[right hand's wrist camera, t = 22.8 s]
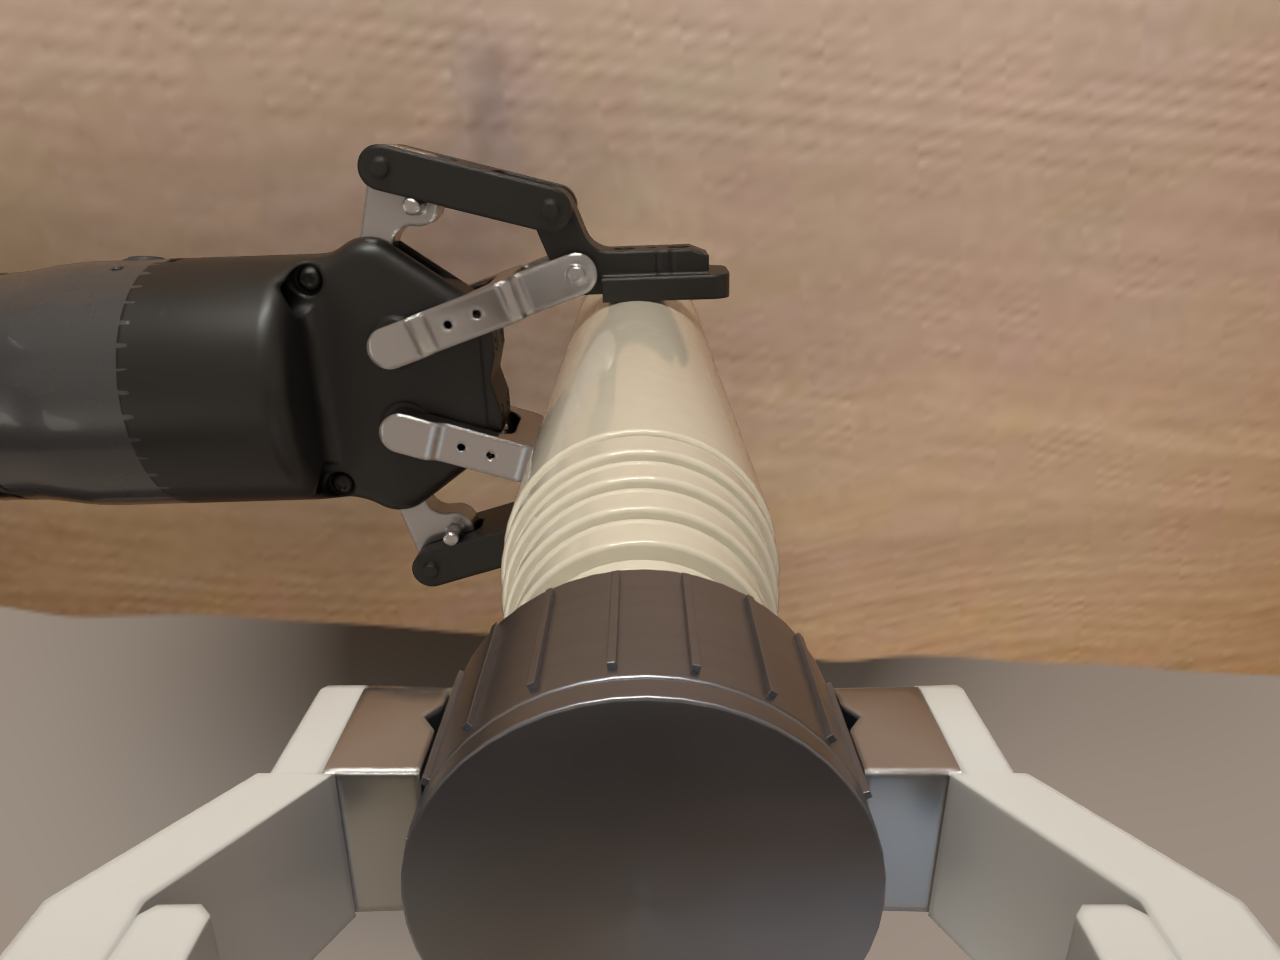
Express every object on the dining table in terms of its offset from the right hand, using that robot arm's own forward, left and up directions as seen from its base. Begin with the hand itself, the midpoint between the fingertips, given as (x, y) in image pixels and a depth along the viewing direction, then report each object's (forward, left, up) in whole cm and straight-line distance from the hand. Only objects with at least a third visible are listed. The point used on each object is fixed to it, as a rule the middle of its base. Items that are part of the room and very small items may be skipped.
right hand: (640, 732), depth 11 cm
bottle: (0, 0, -24) cm, 24 cm away
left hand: (-2, +1, -18) cm, 18 cm away
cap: (0, 0, +2) cm, 2 cm away
